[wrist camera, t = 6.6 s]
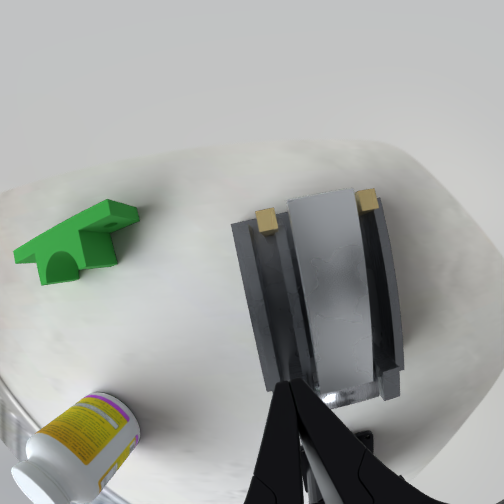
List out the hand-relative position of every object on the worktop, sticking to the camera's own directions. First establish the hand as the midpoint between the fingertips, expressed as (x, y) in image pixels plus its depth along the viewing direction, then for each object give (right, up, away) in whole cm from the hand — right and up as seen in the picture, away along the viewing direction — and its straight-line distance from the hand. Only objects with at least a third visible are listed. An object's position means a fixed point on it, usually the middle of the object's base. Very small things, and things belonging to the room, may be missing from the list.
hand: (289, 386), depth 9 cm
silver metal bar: (+3, +1, +6) cm, 7 cm away
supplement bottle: (-14, -12, +14) cm, 23 cm away
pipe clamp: (-15, +4, +14) cm, 21 cm away
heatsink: (+4, +1, +12) cm, 12 cm away
